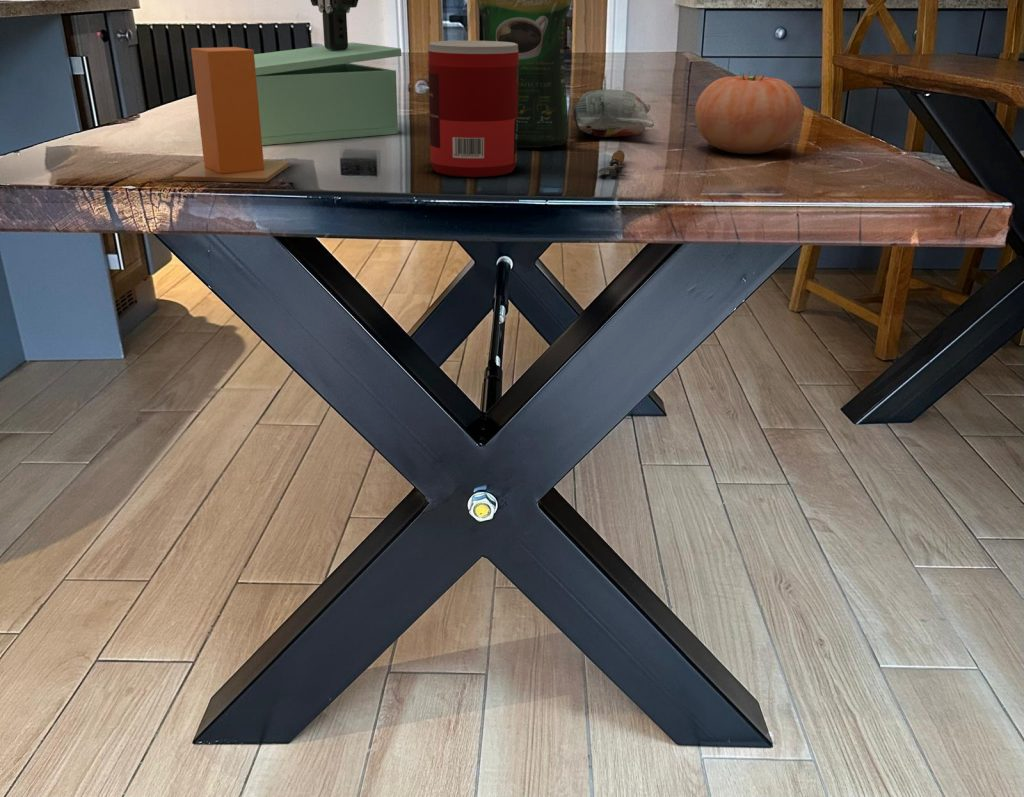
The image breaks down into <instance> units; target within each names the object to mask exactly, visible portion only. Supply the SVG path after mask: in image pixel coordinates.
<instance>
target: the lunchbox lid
mask: <svg viewBox="0 0 1024 797" xmlns="http://www.w3.org/2000/svg"><path fill="white" fill-rule="evenodd" d="M396 57H402V48H400V47H394V46H393V47H392V46H385V45H378V44H370V43H360V42H353V41H352V42H348V48H347V49H346V50H329V49H326V48H325V46H324V45H320V46H311V47H304V48H295V49H287V50H286V49H285V50H278V51H271V52H263V53H254V60H255V71H256V76H257V75H265V74H272V73H280V72H287V71H294V70H302V69H309V68H316V67H324V66H331V65H338V64H346V63H351V64H354V63H359V62H367V61H374V60H381V59H382V60H383V59H389V58H390V59H391V58H396Z"/></svg>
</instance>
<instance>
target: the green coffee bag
mask: <svg viewBox="0 0 1024 797" xmlns="http://www.w3.org/2000/svg"><path fill="white" fill-rule="evenodd" d="M476 3H477V7H478V10H479V13H480V17H481V20H482V38H483V39H482V41H500V42H512V43H516V44H518V51H519V59H518V62H519V73H518V121H517V149H538V148H550V147H554V146H556V145H557V146H559V147H560V146H562V145H563V144H565V143H566V141H567V139H568V136H569V112H568V99H567V98H568V97H567V86H566V71H565V70H566V69H565V23H566V18H567V15H568V13H569V10H570V8H571V6H572V5H571V4H572V0H476Z"/></svg>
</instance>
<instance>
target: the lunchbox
mask: <svg viewBox="0 0 1024 797" xmlns="http://www.w3.org/2000/svg"><path fill="white" fill-rule="evenodd" d="M256 82H257V93H258V105H259V116H260V127H261V138H262V146H267V145H268V146H269V145H282V144H293V143H305V142H316V141H329V140H330V141H331V140H339V139H351V138H352V139H353V138H365V137H376V136H377V137H378V136H389V135H397V134H399V125H398V124H399V123H398V121H399V120H398V94H397V70H394V69H390V68H389V69H388V68H383V67H376V66H371V65H363V64H357V63H346V64H338V65H331V66H324V67H316V68H309V69H302V70H294V71H287V72H280V73H272V74H265V75H257V76H256Z"/></svg>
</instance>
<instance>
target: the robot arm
mask: <svg viewBox="0 0 1024 797" xmlns="http://www.w3.org/2000/svg"><path fill="white" fill-rule="evenodd" d="M309 1H310V3H311V5H312V6H313V7H318V11H319V13H321V14H322V29H323V44H324V45H323V46H325V48H326V49H329V50H346V49H347V48H348V43H349V38H348V19H347V18H348V17H347V14H349V13H350V12H351V8H353V9H354V8H357V7H358V3H359V0H309Z"/></svg>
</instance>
